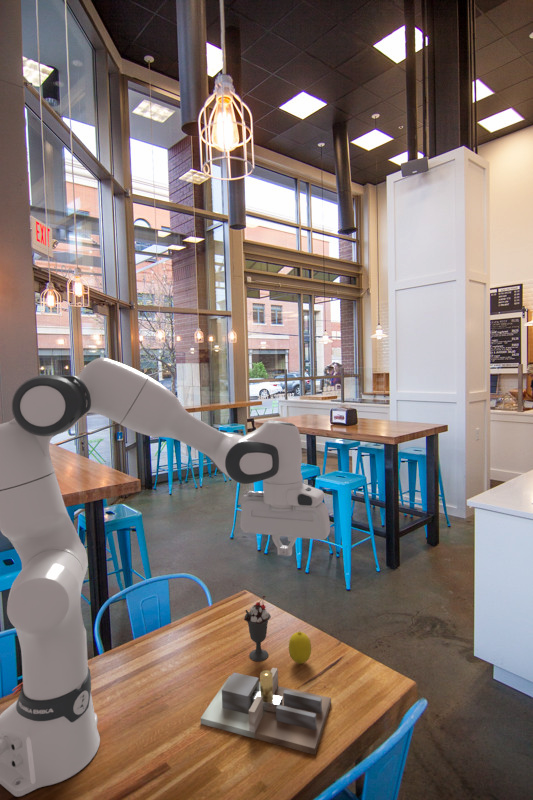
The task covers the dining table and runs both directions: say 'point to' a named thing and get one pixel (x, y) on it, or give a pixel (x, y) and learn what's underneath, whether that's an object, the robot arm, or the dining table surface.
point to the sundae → (258, 629)
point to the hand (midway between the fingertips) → (285, 554)
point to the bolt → (267, 692)
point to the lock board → (269, 713)
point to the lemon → (299, 647)
